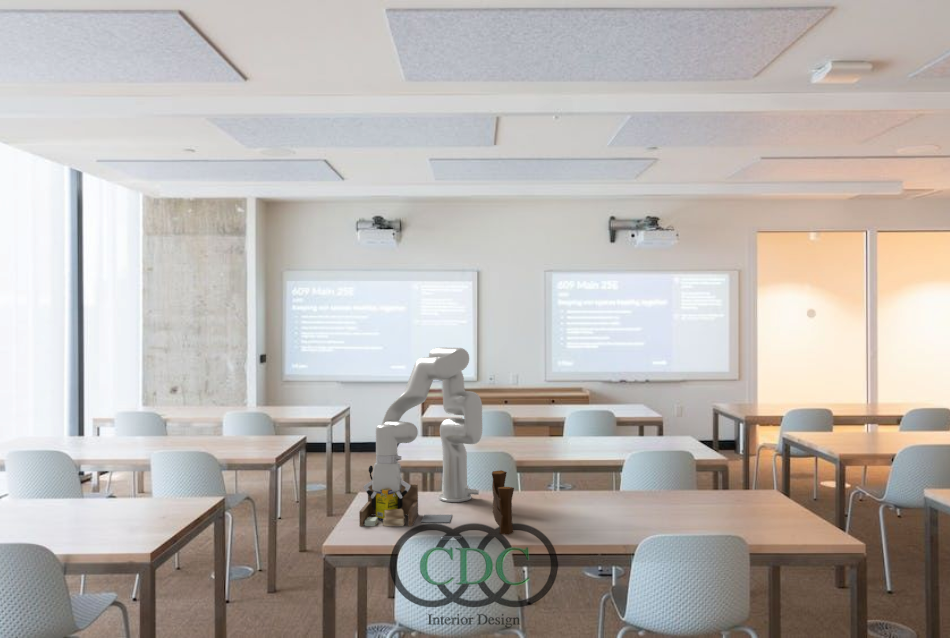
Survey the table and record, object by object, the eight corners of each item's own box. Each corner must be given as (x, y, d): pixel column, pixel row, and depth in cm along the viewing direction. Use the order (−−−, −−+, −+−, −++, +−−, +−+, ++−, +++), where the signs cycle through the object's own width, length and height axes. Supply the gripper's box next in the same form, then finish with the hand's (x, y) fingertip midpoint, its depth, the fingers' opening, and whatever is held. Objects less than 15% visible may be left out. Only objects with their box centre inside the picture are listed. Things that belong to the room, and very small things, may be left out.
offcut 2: (401, 515, 261) (401, 508, 261) (403, 518, 258) (403, 511, 258) (384, 517, 260) (384, 510, 260) (386, 519, 256) (386, 512, 256)
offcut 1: (377, 522, 262) (377, 517, 262) (374, 526, 257) (374, 521, 257) (367, 522, 262) (367, 517, 262) (364, 526, 257) (364, 520, 257)
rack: (418, 514, 272) (417, 483, 272) (411, 526, 256) (411, 493, 256) (368, 514, 273) (368, 483, 273) (359, 526, 257) (359, 493, 257)
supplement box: (387, 522, 261) (387, 490, 262) (375, 519, 265) (375, 488, 265) (399, 518, 266) (399, 487, 266) (387, 516, 270) (386, 485, 270)
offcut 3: (405, 523, 260) (405, 516, 260) (403, 526, 256) (403, 519, 256) (385, 523, 261) (385, 516, 261) (383, 526, 257) (383, 519, 257)
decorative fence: (490, 510, 276) (490, 470, 276) (506, 510, 276) (505, 469, 276) (498, 536, 242) (497, 490, 242) (516, 536, 242) (515, 489, 242)
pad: (452, 515, 269) (452, 514, 269) (449, 523, 259) (449, 521, 259) (424, 515, 269) (424, 514, 269) (420, 523, 259) (420, 521, 259)
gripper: (412, 457, 269) (413, 506, 269) (364, 457, 270) (365, 506, 270) (409, 461, 262) (410, 511, 261) (360, 461, 263) (360, 511, 262)
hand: (387, 508), depth 266 cm, fingers closed on supplement box, 8 cm apart
